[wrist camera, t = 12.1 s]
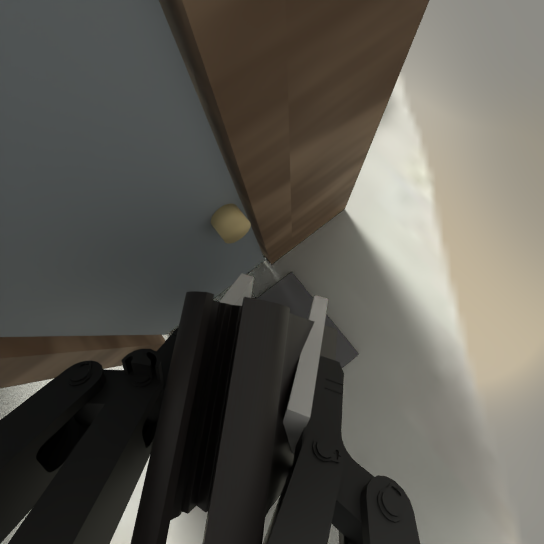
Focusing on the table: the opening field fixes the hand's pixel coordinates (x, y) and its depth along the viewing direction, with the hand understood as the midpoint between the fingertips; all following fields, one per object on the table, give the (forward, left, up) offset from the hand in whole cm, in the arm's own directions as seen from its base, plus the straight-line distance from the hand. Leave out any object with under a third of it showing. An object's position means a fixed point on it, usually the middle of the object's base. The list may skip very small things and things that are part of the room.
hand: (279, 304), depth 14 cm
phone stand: (+2, -3, -4) cm, 5 cm away
